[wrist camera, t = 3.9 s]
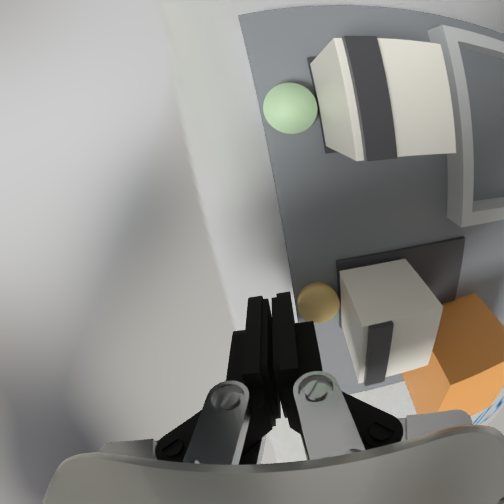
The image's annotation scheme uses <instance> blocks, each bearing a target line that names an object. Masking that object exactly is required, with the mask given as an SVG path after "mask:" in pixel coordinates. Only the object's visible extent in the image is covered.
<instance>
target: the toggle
mask: <svg viewBox="0 0 504 504" xmlns="http://www.w3.org/2000/svg"><path fill="white" fill-rule="evenodd" d="M310 66H311V70H312V74H313V79H314V84H315V88H316V93H317V98H318V103H319V109H320V114H321V120H322V125H323V131H324V137H325V143H326V146H327V147H329V148H331V149H333V150H335V151H337V152H339V153H341V154H343V155H345V156H347V157H349V158H351V159H353V160H355V161H362V160H365V161H367V162H368V161H377V160H387V159H397V157H402V156H415V155H429V154H448V153H456V140H455V127H454V117H453V109H452V101H451V94H450V88H449V82H448V76H447V71H446V66H445V61H444V57H443V52H442V48H441V44H436V43H429V42H422V41H413V40H402V39H387V38H377V36H343V37H342V38H333V39H332V40H331V41H330V43H329V44H328V45H327V46H326V47H325V48H324V49H323V50H322V51H321V52H320V53H319V55H318V56H317V57H316V58H315V59H314V60H313V61H312V62H311V64H310Z"/></svg>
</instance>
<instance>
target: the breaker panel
mask: <svg viewBox="0 0 504 504" xmlns="http://www.w3.org/2000/svg"><path fill="white" fill-rule="evenodd" d="M238 17H239V21H240V25H241V29H242V33H243V37H244V42H245V46H246V50H247V54H248V58H249V63H250V67H251V71H252V76H253V80H254V84H255V89H256V93H257V98H258V102H259V107H260V112H261V116H262V121H263V126H264V131H265V136H266V140H267V145H268V150H269V155H270V160H271V166H272V171H273V176H274V181H275V186H276V192H277V197H278V203H279V208H280V214H281V219H282V225H283V231H284V236H285V242H286V248H287V254H288V260H289V266H290V273H291V279H292V285H293V292H294V298H295V305H296V311H297V318H298V323H301V322H307V321H313V322H314V326H315V331H316V337H317V342H318V347H319V353H320V358H321V364H322V369H323V371H324V372H327V373H330V374H331V375H332V376H334V377H335V379H336V380H337V382H338V384H339V387H340V389H341V391H342V392H344V393H346V394H353V393H358V392H362V391H367V390H371V389H375V388H379V387H383V386H387V385H391V384H395V383H398V382H402V381H404V378H403V376H402V373H400V374H396V375H392V376H388V377H385V381H384V382H381V383H377V384H373V385H369V386H364V383H358V380H357V376H356V373H355V369H354V365H353V362H352V359H351V355H350V352H349V348H348V345H347V342H346V338H345V335H344V332H343V328H342V318H341V290H340V271H342V270H347V269H353V268H358V267H364V266H369V265H374V264H380V263H385V262H390V261H395V260H400V259H406V260H407V261H408V263H409V264H410V265H411V266H412V267H413V269H414V270H415V271H416V272H417V274H418V275H419V276H420V277H421V279H422V280H423V281H424V282H425V284H426V285H427V286H428V287H429V289H430V290H431V291H432V293H433V294H434V295H435V297H436V298H437V299H438V300H439V302H440V303H441V304H444V303H447V302H450V301H454V300H455V299H457V298H460V297H463V296H466V295H470V294H473V293H476V294H477V295H478V296H479V297H480V299H481V300H482V301H483V302H484V303H485V304H486V305H487V307H488V308H489V309H490V310H491V311H492V313H493V314H494V315H495V316H496V317H497V319H498V320H499V321H500V322H501V324H502V325H503V326H504V34H502V33H499V32H496V31H493V30H491V29H488V28H485V27H481V26H478V25H475V24H471V23H468V22H464V21H461V20H457V19H453V18H449V17H444V16H440V15H435V14H430V13H424V12H418V11H412V10H405V9H396V8H387V7H375V6H354V5H326V6H305V7H292V8H283V9H274V10H267V11H260V12H254V13H248V14H243V15H238ZM343 36H377V38H387V39H402V40H413V41H422V42H429V43H436V44H441V48H442V52H443V57H444V61H445V66H446V71H447V76H448V82H449V88H450V94H451V101H452V109H453V117H454V127H455V140H456V153H448V154H429V155H415V156H402V157H397V159H387V160H377V161H368V162H367V161H365V160H362V161H355V160H353V159H351V158H349V157H347V156H345V155H343V154H341V153H339V152H337V151H335V150H333V149H331V148H329V147H327V146H326V143H325V137H324V131H323V125H322V120H321V114H320V109H319V103H318V98H317V93H316V88H315V84H314V79H313V74H312V70H311V66H310V64H311V62H312V61H313V60H314V59H315V58H316V57H317V56H318V55H319V53H320V52H321V51H322V50H323V49H324V48H325V47H326V46H327V45H328V44H329V43H330V41H331V40H332V39H333V38H342V37H343Z"/></svg>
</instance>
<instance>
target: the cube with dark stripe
mask: <svg viewBox="0 0 504 504" xmlns="http://www.w3.org/2000/svg"><path fill="white" fill-rule="evenodd" d="M340 290H341V318H342V328H343V332H344V335H345V338H346V342H347V345H348V348H349V352H350V355H351V359H352V362H353V365H354V369H355V373H356V376H357V380H358V383H364V386H369V385H373V384H377V383H381V382H384V381H385V377H388V376H392V375H396V374H400V373H403V372H407V371H410V370H413V369H417V368H420V367H423V366H426V365H428V363H429V360H430V356H431V353H432V350H433V346H434V343H435V339H436V335H437V331H438V327H439V323H440V319H441V315H442V310H443V306H442V305H441V303H440V302H439V300H438V299H437V298H436V297H435V295H434V294H433V293H432V291H431V290H430V289H429V287H428V286H427V285H426V284H425V282H424V281H423V280H422V279H421V277H420V276H419V275H418V274H417V272H416V271H415V270H414V269H413V267H412V266H411V265H410V264H409V263H408V261H407V260H406V259H400V260H395V261H390V262H385V263H380V264H374V265H369V266H364V267H358V268H353V269H347V270H342V271H340Z"/></svg>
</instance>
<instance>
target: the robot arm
mask: <svg viewBox="0 0 504 504" xmlns="http://www.w3.org/2000/svg"><path fill="white" fill-rule="evenodd" d="M280 401H281V405H282V409H283V413H284V417H285V418H287V417H288V421H289V425H290V428H292V429H293V430H295V431H296V432H298V433H300V434H301V439H302V443H303V446H304V450H305V454H306V458H307V460H306V461H297V462H287V463H274V464H261V459H262V455H263V450H264V445H265V440H266V434H267V433H268V432H269V431H270V430H272V426H276V419H277V418H281V409H280ZM42 504H504V435H503V434H502V433H501V432H500V431H499V430H497V429H495V428H493V427H490V426H483V425H472V420H471V417H470V416H469V415H468V414H467V413H466V412H465V411H462V410H449V411H442V412H435V413H427V414H418V415H407V416H406V418H399V419H397V418H396V417H394V416H393V415H390V414H388V413H386V412H384V411H382V410H380V409H377V408H375V407H373V406H371V405H369V404H367V403H365V402H363V401H361V400H359V399H357V398H354V397H352V396H350V395H348V394H346V393H344V392H342V391H341V389H340V387H339V384H338V382H337V380H336V379H335V377H334V376H332V375H331V374H330V373H327V372H324V371H323V369H322V364H321V358H320V353H319V347H318V342H317V337H316V331H315V326H314V322H313V321H307V322H301V323H295V321H294V315H293V308H292V302H291V295H290V292H284V293H277V297H275V298H272V315H271V311H270V306H269V301H268V299H263V297H262V296H257V297H250V298H248V307H247V318H246V329H245V330H241V331H234V332H233V335H232V342H231V349H230V356H229V363H228V370H227V379H226V381H225V382H222V383H219V384H217V385H215V386H214V387H213V388H212V389H211V390H210V391H209V393H208V395H207V397H206V400H205V403H204V406H203V408H202V410H201V411H200V412H198V413H197V414H195V415H194V416H193V417H191V418H190V419H188V420H187V421H186V422H184V423H183V424H181V425H180V426H178V427H177V428H175V429H174V430H172V431H171V432H169V433H168V434H166V435H165V436H163V438H161V439H160V440H158V441H155V440H154V439H146V440H135V441H120V442H110V443H107V444H105V445H104V446H103V447H102V448H101V449H100V451H99V453H86V454H79V455H76V456H72V457H70V458H67V459H66V460H64V461H63V462H62V463H61V464H60V465H59V467H58V468H57V470H56V472H55V473H54V476H53V477H52V479H51V482H50V484H49V486H48V489H47V491H46V494H45V497H44V500H43V502H42Z"/></svg>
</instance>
